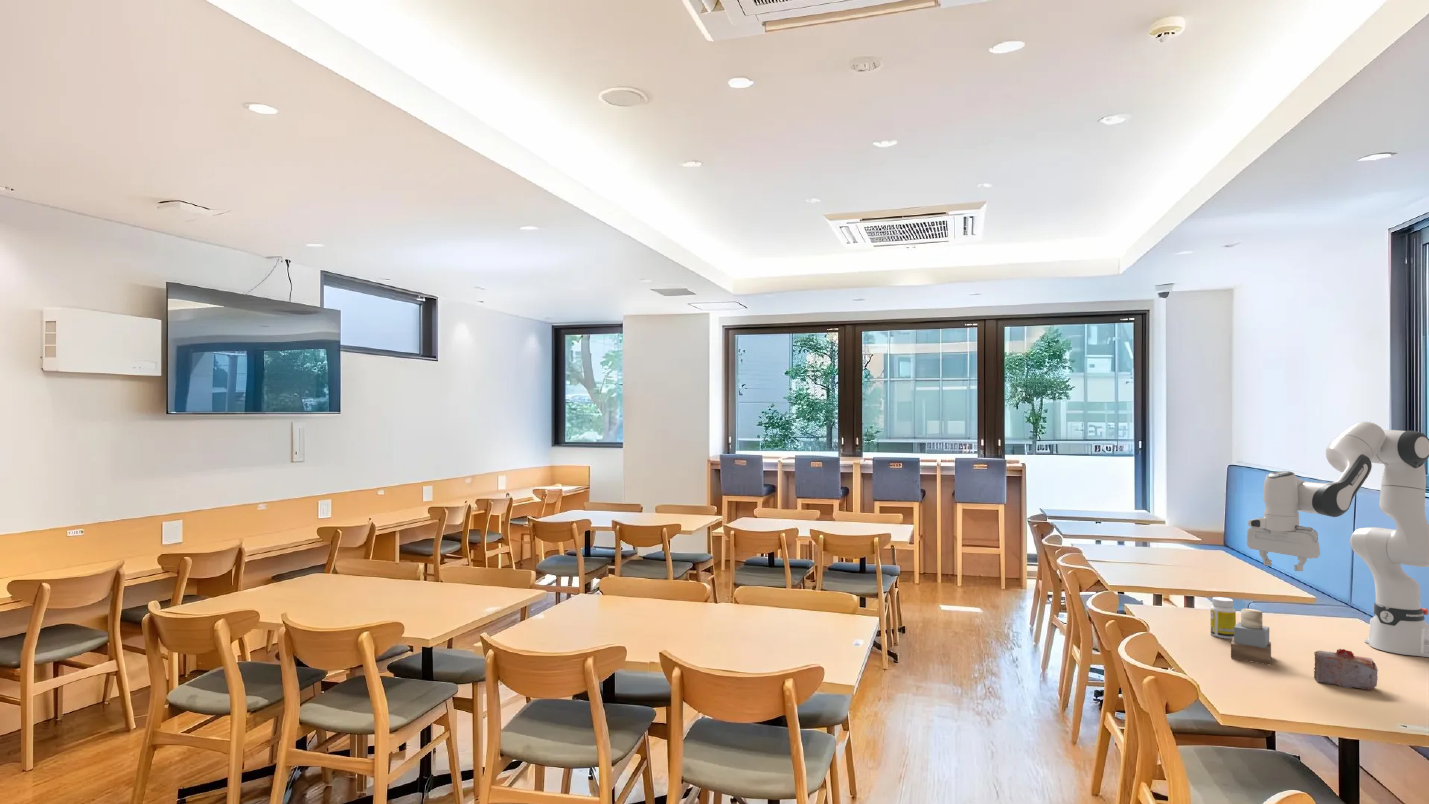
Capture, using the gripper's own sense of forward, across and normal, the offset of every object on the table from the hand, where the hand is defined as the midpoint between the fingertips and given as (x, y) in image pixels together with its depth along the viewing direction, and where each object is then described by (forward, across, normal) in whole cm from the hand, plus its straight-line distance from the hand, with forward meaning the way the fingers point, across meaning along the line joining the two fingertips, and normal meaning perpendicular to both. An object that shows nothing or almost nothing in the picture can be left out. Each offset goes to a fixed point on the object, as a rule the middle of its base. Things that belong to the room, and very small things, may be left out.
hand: (1282, 568), depth 242 cm
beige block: (+18, +4, +8) cm, 21 cm away
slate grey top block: (+24, +4, +9) cm, 25 cm away
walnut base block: (+28, +5, +9) cm, 30 cm away
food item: (+28, -22, +8) cm, 37 cm away
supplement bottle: (+29, +25, -6) cm, 38 cm away
